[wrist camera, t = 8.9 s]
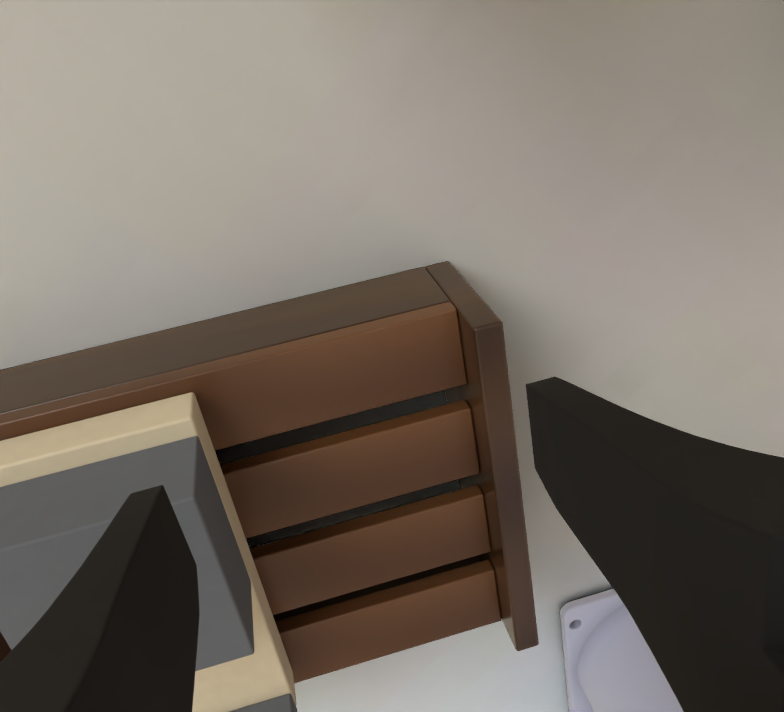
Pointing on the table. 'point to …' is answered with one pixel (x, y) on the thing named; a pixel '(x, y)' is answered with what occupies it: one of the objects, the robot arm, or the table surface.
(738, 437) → the table surface
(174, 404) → the grey and beige block
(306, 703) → the table surface
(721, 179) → the table surface
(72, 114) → the table surface
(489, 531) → the rack
